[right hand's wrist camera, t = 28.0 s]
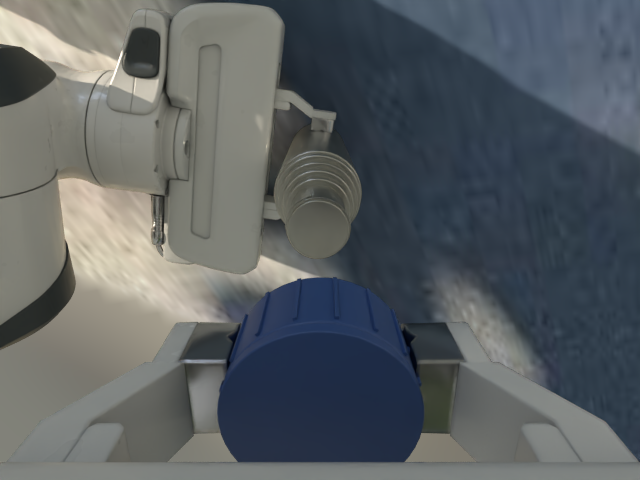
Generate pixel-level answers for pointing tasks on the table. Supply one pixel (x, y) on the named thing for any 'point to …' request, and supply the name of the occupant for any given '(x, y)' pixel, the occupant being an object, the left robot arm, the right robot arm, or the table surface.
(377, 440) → the cap
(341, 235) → the bottle
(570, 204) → the table surface
